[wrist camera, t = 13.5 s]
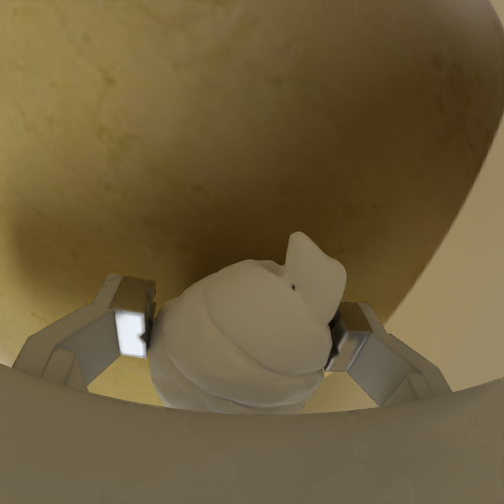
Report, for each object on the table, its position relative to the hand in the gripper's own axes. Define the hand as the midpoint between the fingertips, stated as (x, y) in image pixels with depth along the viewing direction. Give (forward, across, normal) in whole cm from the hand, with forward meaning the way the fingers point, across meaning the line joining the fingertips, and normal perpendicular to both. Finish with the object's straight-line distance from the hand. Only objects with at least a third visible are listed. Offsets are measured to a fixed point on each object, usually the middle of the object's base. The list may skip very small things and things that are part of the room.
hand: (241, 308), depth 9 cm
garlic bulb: (+2, 0, 0) cm, 2 cm away
